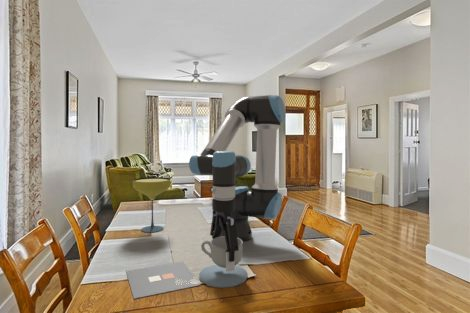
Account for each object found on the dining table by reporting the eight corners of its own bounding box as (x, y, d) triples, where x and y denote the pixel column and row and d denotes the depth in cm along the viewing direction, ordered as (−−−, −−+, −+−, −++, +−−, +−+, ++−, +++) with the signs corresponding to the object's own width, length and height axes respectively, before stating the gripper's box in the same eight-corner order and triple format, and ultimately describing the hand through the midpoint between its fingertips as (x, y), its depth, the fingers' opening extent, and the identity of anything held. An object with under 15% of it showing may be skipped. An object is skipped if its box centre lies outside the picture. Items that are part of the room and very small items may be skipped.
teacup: (246, 260, 107) (246, 237, 107) (236, 273, 97) (236, 248, 96) (209, 255, 112) (209, 233, 111) (196, 267, 101) (196, 242, 101)
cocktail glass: (166, 235, 146) (165, 182, 144) (127, 234, 146) (127, 182, 144) (174, 224, 164) (174, 177, 162) (140, 224, 164) (139, 176, 162)
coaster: (192, 270, 107) (192, 268, 107) (234, 263, 114) (234, 261, 114) (209, 292, 93) (209, 289, 93) (255, 281, 100) (255, 279, 100)
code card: (126, 271, 107) (126, 270, 107) (182, 261, 115) (182, 261, 115) (133, 299, 89) (133, 298, 89) (200, 285, 97) (200, 284, 97)
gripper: (201, 193, 111) (201, 253, 112) (227, 206, 90) (226, 280, 91) (220, 191, 114) (220, 250, 115) (250, 204, 93) (249, 276, 94)
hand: (223, 263), depth 103 cm, fingers closed on teacup, 11 cm apart
